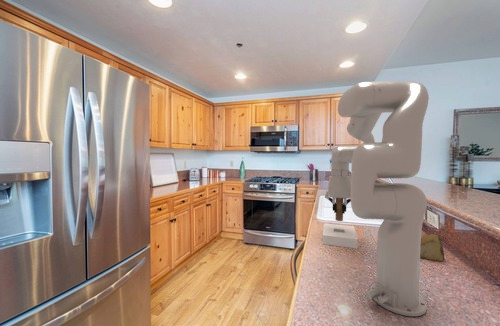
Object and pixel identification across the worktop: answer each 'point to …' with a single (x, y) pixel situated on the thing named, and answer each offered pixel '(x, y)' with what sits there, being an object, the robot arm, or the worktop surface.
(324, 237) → the hole block
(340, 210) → the peg
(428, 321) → the worktop surface
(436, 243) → the rock
